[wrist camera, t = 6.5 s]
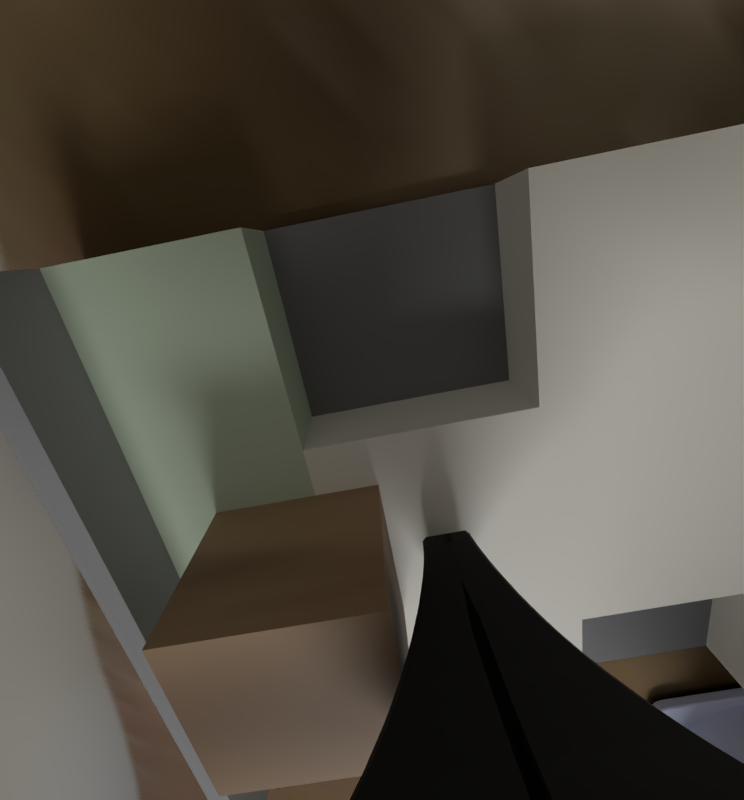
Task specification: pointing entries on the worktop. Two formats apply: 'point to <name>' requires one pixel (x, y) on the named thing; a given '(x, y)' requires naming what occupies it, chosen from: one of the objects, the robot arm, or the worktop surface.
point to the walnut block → (285, 641)
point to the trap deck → (418, 395)
